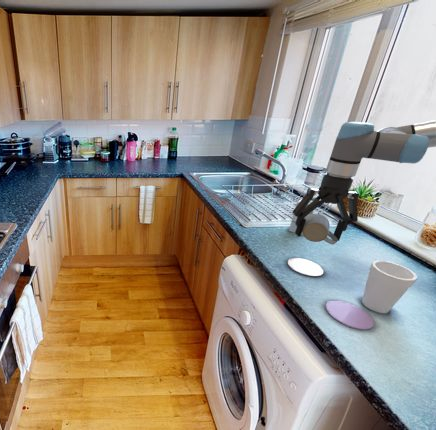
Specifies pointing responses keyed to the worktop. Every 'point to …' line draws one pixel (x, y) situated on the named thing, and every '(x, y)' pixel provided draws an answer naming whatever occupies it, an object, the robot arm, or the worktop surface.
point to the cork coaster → (305, 267)
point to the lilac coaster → (349, 315)
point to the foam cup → (386, 285)
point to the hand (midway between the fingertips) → (316, 236)
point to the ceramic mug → (318, 229)
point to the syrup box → (293, 225)
